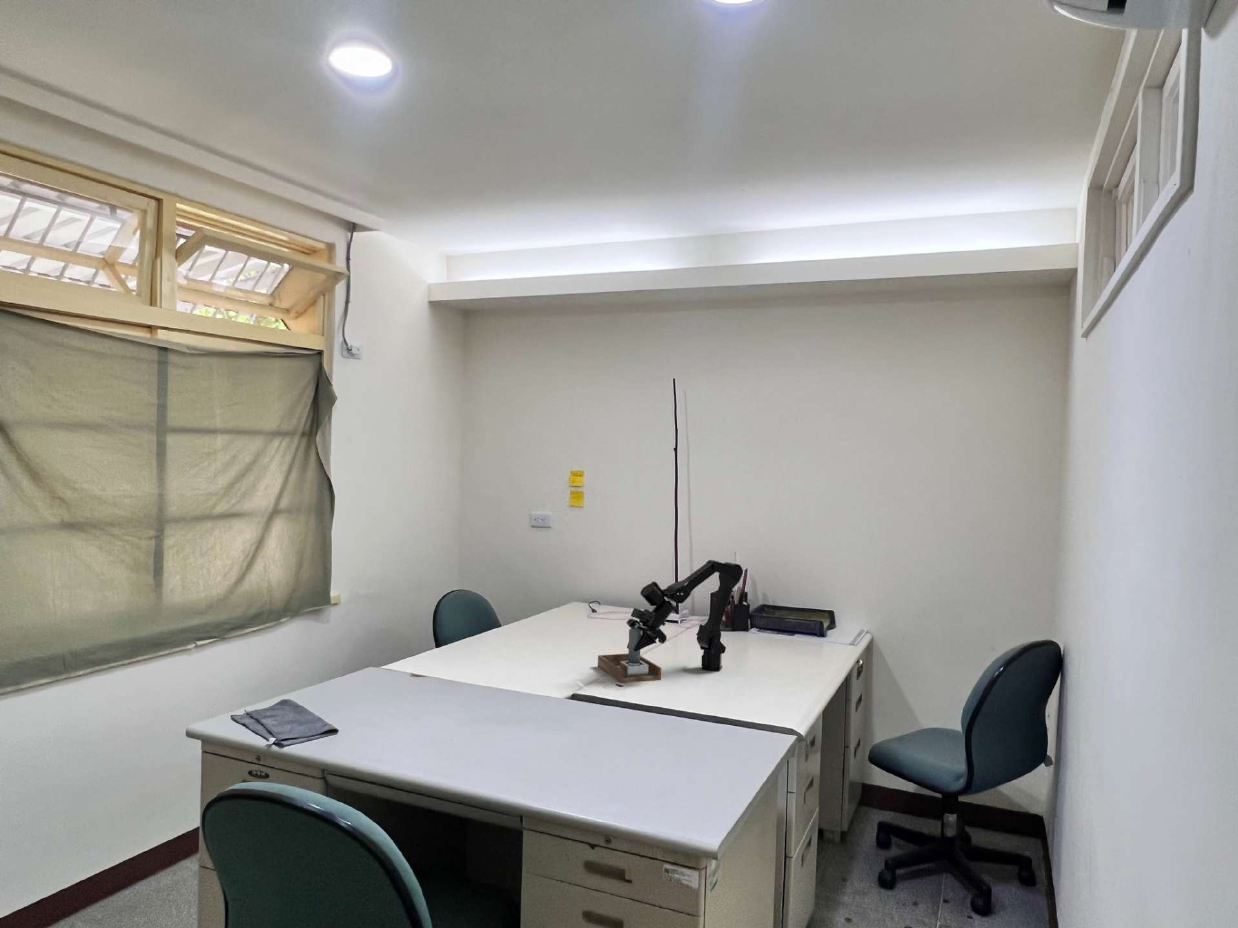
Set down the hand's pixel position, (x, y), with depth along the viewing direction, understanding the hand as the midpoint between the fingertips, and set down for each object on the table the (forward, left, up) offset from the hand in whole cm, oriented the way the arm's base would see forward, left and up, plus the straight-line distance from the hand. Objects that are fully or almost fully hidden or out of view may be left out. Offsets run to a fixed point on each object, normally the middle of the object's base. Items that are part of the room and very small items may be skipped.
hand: (631, 649), depth 282 cm
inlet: (-1, -1, -9) cm, 9 cm away
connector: (-1, -1, -6) cm, 7 cm away
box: (+2, -5, -10) cm, 11 cm away
